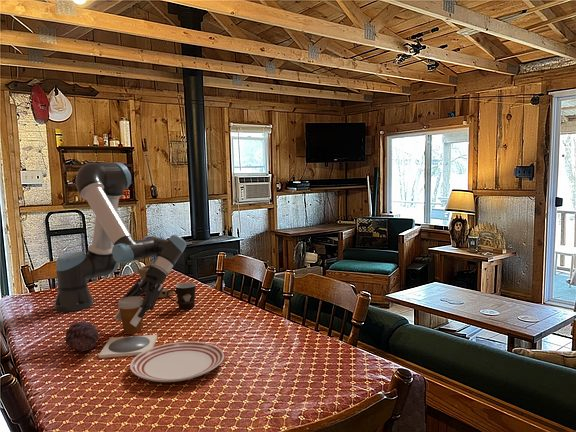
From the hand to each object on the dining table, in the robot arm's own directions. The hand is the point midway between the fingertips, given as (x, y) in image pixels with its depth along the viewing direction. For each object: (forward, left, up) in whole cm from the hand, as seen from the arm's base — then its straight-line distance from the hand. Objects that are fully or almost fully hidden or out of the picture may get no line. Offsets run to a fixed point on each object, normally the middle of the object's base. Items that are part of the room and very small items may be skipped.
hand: (124, 322), depth 156 cm
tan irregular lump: (+3, +47, -5) cm, 48 cm away
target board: (+4, -13, -4) cm, 14 cm away
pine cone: (-10, -13, -5) cm, 17 cm away
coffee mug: (+18, +26, -5) cm, 32 cm away
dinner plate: (+22, -31, -5) cm, 38 cm away
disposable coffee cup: (+2, +2, -5) cm, 6 cm away
